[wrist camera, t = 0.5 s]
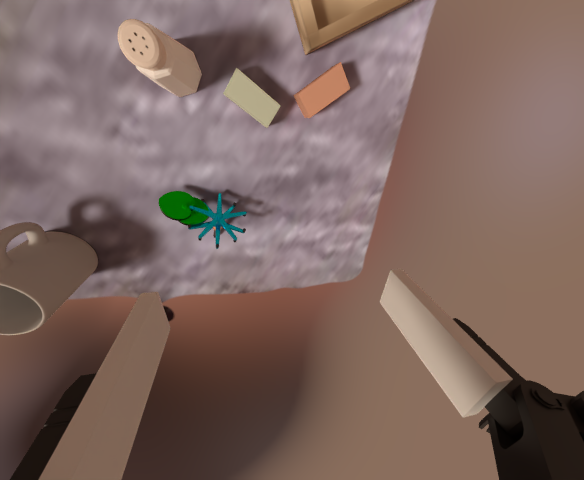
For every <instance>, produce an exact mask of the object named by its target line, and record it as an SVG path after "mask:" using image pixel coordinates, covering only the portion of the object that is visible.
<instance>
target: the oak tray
mask: <svg viewBox="0 0 584 480" xmlns="http://www.w3.org/2000/svg"><path fill="white" fill-rule="evenodd" d="M412 1H414V0H290V3H291V6H292V10H293V13H294V17H295V20H296V24H297V27H298V31H299V34H300V38H301V41H302V44H303V48H304V51H305V55H307V54H309V53H311V52H313V51H315V50H317V49H319V48H320V47H322V46H324V45H326V44H328V43H330V42H332V41H334V40H336V39H338V38H340V37H342V36H344V35H346V34H348V33H350V32H352V31H354V30H356V29H358V28H360V27H362V26H364V25H366V24H368V23H370V22H372V21H374V20H376V19H378V18H380V17H382V16H384V15H386V14H388V13H390V12H392V11H394V10H396V9H398V8H400V7H402V6H404V5H406V4H408V3H410V2H412Z"/></svg>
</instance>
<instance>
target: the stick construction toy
mask: <svg viewBox="0 0 584 480" xmlns="http://www.w3.org/2000/svg"><path fill="white" fill-rule="evenodd" d="M159 206H160V209H161V211H162V213H163V214H164V215H165V216H167V217H168V218H170V219H172V220H177V221H179V222H180V223H182V224H184V225H188V229H197V228H204V227H206V228H205V229H204V230H203V232H202V233H201V234H200V235H199V236H198V239H199V240H201V239H202V237H203V236H204V235H205V234H206V233H207V232H208V231H210V230H211V229H212V228H213V229H214V235H213V236H214V237H215V238H216V249H218V248H219V239H220V230H221V229H222V227H224V229H225V230H226V231H227V232H228V233H229V234H230V236H231V237H232V238H233V239H234V240H233V241H234V242H236V240H237V237H236V236H235V235H234V233H233V232H232V230H235V231H238V232H241V233H245V231H246V229H243V230H242V229H240V228H238V227H235V226H233V225H230V224H228V223H226V222H225V219H228V218H233V217H237V216H241V215H243V216H246V213H247V212H246V211H244V212H237V213H231V211H232V210H233V209H234V208H235V206H236V203H234V204H233V206H231V207H230V208H229V209H228V210H227V211H226V212H225V213H224V214H222V202H221V193H219V194H218V204H217V213H213V211H212V210H211V209H210V208H209V207H208V206H207V204H206V203H205V202H204V199H201V200H200V199H198V198H195V197H192V196H191V195H190V194H188V193H186V192H181V191H173V192H169V193H167V194H165V195H163V196H162V197H160V198H159ZM209 217H211V218H212V219H213V220H212V221H210V222H206V223H203V222H205V221H206V220H207V219H208V218H209Z"/></svg>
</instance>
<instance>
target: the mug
mask: <svg viewBox="0 0 584 480" xmlns="http://www.w3.org/2000/svg"><path fill="white" fill-rule="evenodd" d="M24 232H25V233H26V234H27V236H28V240H26V241H25V242H23V243H22V244H20V245H18V246H17V247H15V248H13V249H12V250H10V251H8V252H7V253H6V247H7V245H8V243H9V242H10V241H11V240H12V239H13V238H14V237H16V236H18V235H19V234H21V233H24ZM97 265H98V257H97V254H96V252H95V251H94V249H93V248H92V247H91V246H90V245H89V244H88V243H87V242H85V241H84V240H82V239H80V238H78V237H76V236H74V235H71V234H68V233H63V232H54V231H52V232H44V230H43V229H42V227H41V226H39V225H38V224H35V223H31V222H24V223H18V224H15V225H11V226H9V227H6V228H4V229H2V230H0V334H1V335H17V334H23V333H27V332H30V331H33V330H35V329H37V328H39V327H40V326H41V325H43V324H44V323H45V322H46V321H47V320H48V319H49V318H50V317H51V315H53V313H55V311H56V310H57V309H58V308H59V307H60V306H61V305H62V304H63V303H64V302H65V301H66V300H67V299H68V298H69V297H70V296H71V295H72V294H73V293H74V292H75V291H76V289H77V288H78V287H79V286H80V285H81V284H82V283H83V282H84V281H85V280H86V279H87V278H88V277H89V276H90V275H91V274H92V273H93V272H94V271H95V270H96V268H97Z"/></svg>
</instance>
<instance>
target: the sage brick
mask: <svg viewBox="0 0 584 480" xmlns="http://www.w3.org/2000/svg"><path fill="white" fill-rule="evenodd" d="M223 94H224V95H225V96H226V97H228V98H229V99H230V100H231V101H233V102H234V103H235V104H237V105H238V106H239V107H240V108H242V109H243V110H244V111H245V112H247V113H248V114H249V115H251V116H252V117H253V118H254V119H256V120H257V121H258V122H260V123H261V124H262V125H263V126H265V127H266V128H268V126H269V124H270V123H271V121H272V119H273V118H274V116H275V114H276V113H277V111H278V109H279V108H280V105H279V104H278V103H277V102H276V101H275V100H273V99H272V98H271V97H270V96H269V95H268V94H266V93H265V92H264V91H263V90H262V89H261V88H259V87H258V86H257V85H256V84H255V83H254V82H253V81H251V80H250V79H249V78H248V77H247V76H246V75H244V74H243V73H242V72H241V71H240V70H239V69H237V68H236V70H235V72H234V74H233V76H232V78H231V80H230V82H229V84H228V86H227V88H226V90H225V92H224V93H223Z"/></svg>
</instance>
